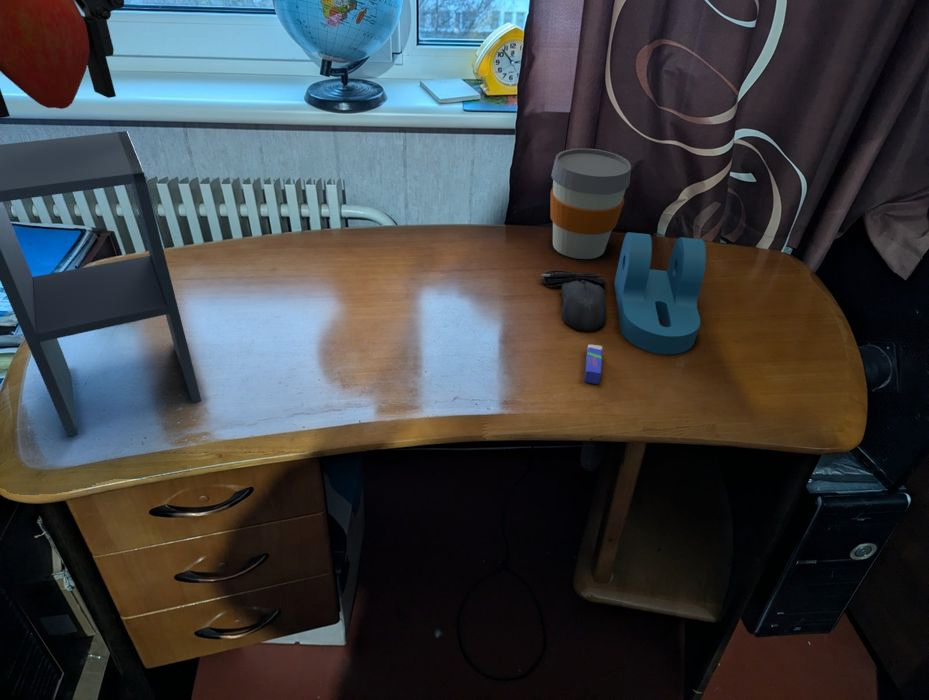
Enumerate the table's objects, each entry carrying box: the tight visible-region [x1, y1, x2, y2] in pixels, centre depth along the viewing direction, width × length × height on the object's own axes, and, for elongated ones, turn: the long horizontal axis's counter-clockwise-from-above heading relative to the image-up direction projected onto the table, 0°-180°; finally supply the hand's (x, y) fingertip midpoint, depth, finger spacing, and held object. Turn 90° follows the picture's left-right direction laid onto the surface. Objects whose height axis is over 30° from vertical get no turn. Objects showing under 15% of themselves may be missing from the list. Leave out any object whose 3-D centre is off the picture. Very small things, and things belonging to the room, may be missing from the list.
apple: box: [0, 0, 90, 110], centre depth 57 cm, size 9×8×11 cm
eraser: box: [584, 343, 603, 385], centre depth 85 cm, size 2×6×2 cm, turn 168°
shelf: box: [0, 130, 202, 438], centre depth 70 cm, size 12×14×28 cm
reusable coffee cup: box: [550, 147, 632, 260], centre depth 109 cm, size 13×13×15 cm
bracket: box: [613, 231, 707, 355], centre depth 93 cm, size 18×10×10 cm, turn 173°
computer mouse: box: [541, 269, 607, 332], centre depth 97 cm, size 10×15×4 cm
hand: (54, 103), depth 60 cm, fingers closed on apple, 8 cm apart
